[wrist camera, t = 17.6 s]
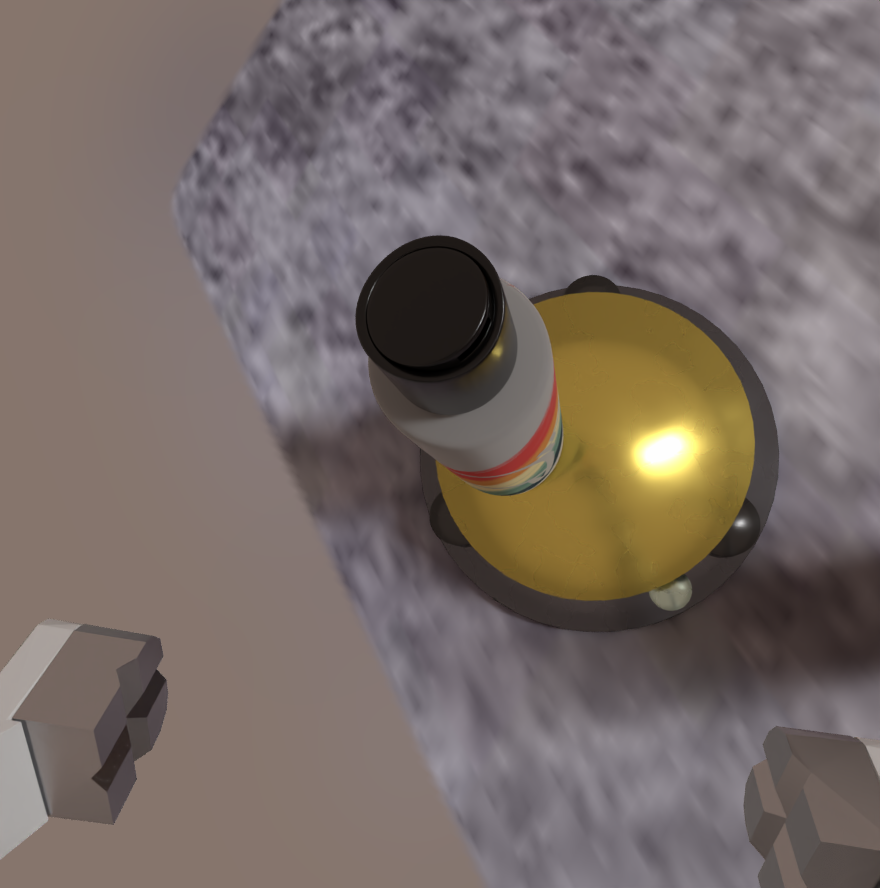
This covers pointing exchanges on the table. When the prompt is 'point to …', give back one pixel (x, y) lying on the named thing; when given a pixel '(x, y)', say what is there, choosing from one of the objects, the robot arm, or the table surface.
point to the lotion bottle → (462, 364)
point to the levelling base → (624, 470)
